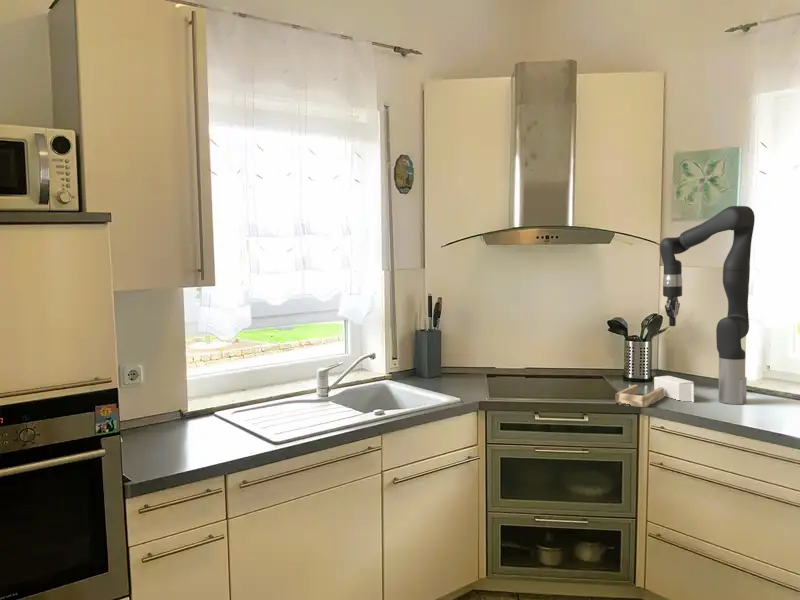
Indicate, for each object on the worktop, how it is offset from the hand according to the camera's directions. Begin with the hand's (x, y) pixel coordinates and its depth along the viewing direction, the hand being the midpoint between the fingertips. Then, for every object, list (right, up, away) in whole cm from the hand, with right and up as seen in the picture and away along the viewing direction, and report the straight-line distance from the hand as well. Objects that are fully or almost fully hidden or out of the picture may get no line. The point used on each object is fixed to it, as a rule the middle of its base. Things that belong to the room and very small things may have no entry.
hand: (672, 326), depth 288 cm
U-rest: (-20, -29, -17) cm, 39 cm away
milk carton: (-7, -24, -5) cm, 25 cm away
